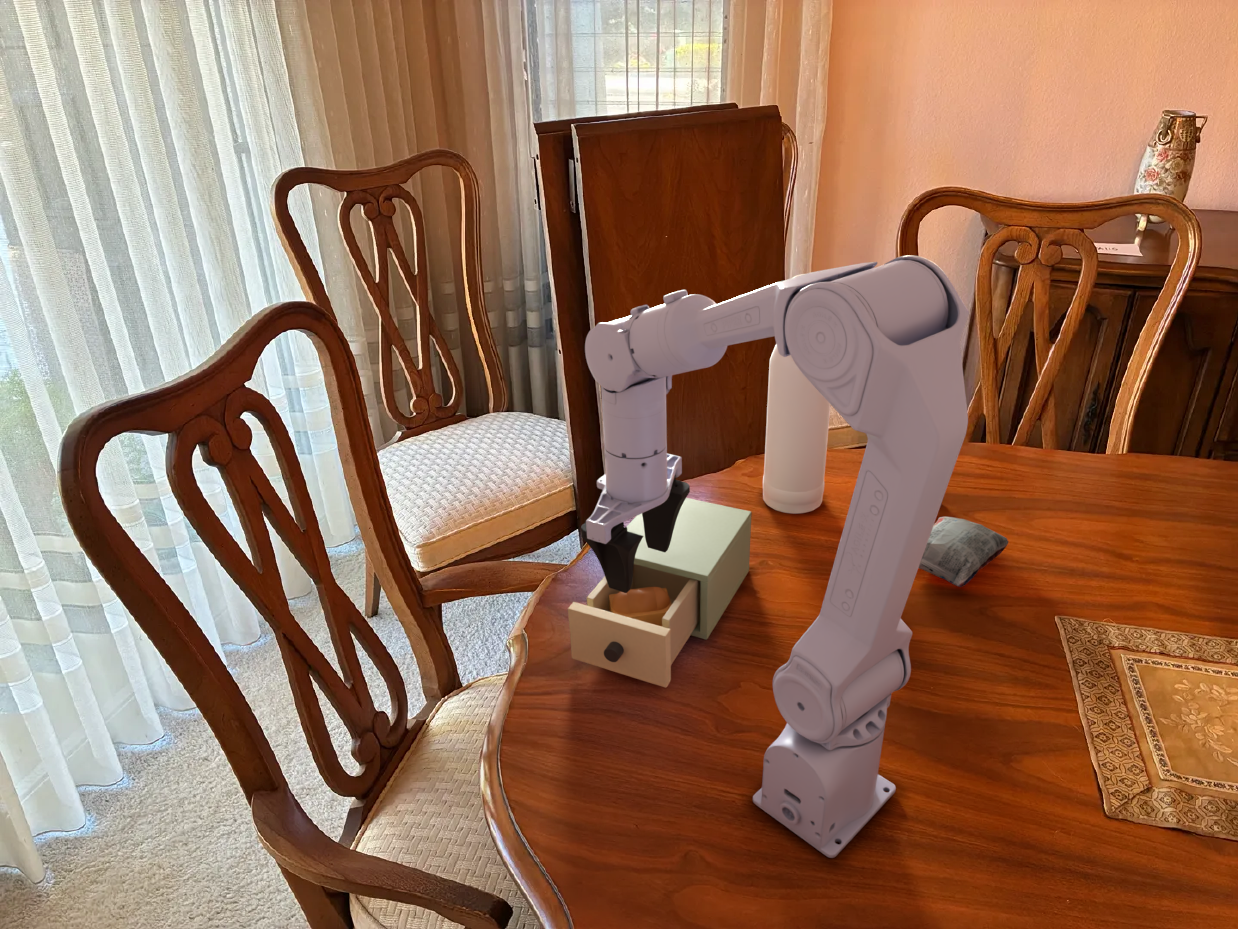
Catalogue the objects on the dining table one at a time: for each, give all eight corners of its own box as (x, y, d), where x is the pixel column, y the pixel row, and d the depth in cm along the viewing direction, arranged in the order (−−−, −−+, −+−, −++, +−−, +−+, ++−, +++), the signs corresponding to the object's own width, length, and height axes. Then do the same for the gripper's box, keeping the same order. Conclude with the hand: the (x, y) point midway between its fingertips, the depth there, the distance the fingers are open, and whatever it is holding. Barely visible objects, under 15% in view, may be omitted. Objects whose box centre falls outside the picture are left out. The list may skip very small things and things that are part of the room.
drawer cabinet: (706, 640, 89) (707, 576, 86) (608, 612, 94) (604, 550, 90) (749, 570, 100) (751, 511, 96) (658, 548, 105) (657, 491, 101)
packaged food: (888, 570, 99) (893, 535, 97) (940, 530, 106) (946, 496, 104) (959, 604, 93) (966, 566, 91) (1009, 559, 100) (1017, 523, 98)
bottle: (751, 503, 113) (760, 281, 99) (778, 479, 119) (791, 265, 105) (806, 521, 109) (825, 291, 95) (832, 495, 115) (853, 273, 100)
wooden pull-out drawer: (661, 696, 81) (660, 644, 78) (565, 666, 85) (561, 615, 82) (713, 613, 92) (713, 565, 89) (625, 590, 96) (624, 543, 93)
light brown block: (666, 615, 90) (666, 576, 88) (674, 639, 87) (673, 599, 84) (610, 622, 89) (608, 583, 87) (615, 647, 86) (613, 607, 84)
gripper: (637, 406, 85) (640, 522, 92) (553, 468, 74) (564, 595, 81) (701, 420, 82) (700, 539, 88) (623, 487, 71) (628, 617, 77)
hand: (639, 567), depth 84 cm, fingers open, 7 cm apart
